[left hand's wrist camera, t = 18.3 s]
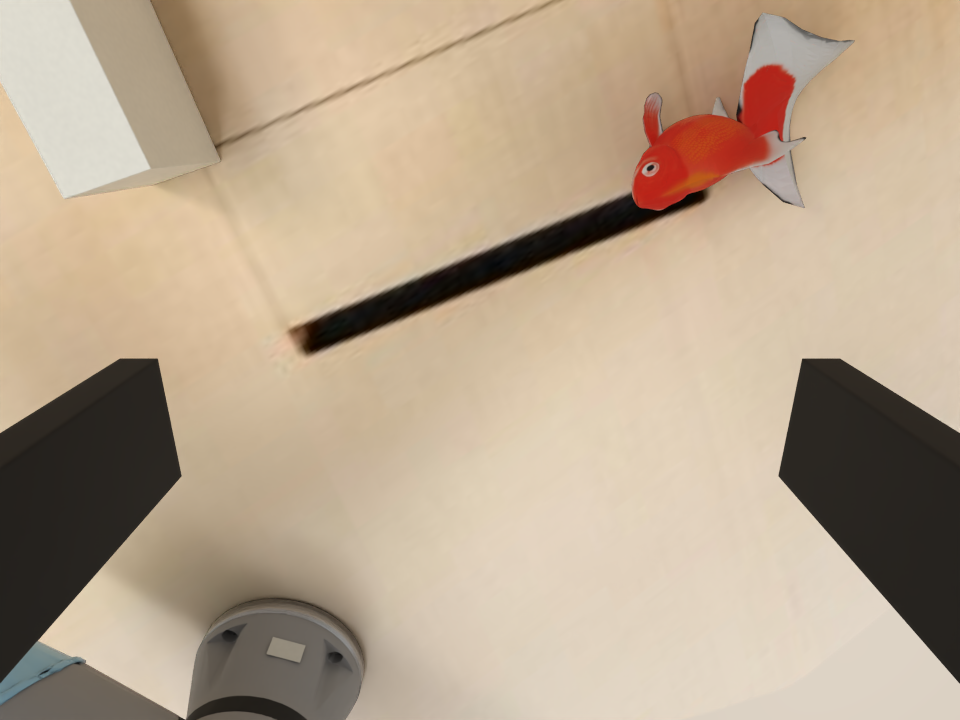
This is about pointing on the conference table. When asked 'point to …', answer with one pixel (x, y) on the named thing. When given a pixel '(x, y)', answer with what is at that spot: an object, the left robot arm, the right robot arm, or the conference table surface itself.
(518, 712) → the conference table surface
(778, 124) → the fish
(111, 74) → the bar
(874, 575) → the left robot arm
